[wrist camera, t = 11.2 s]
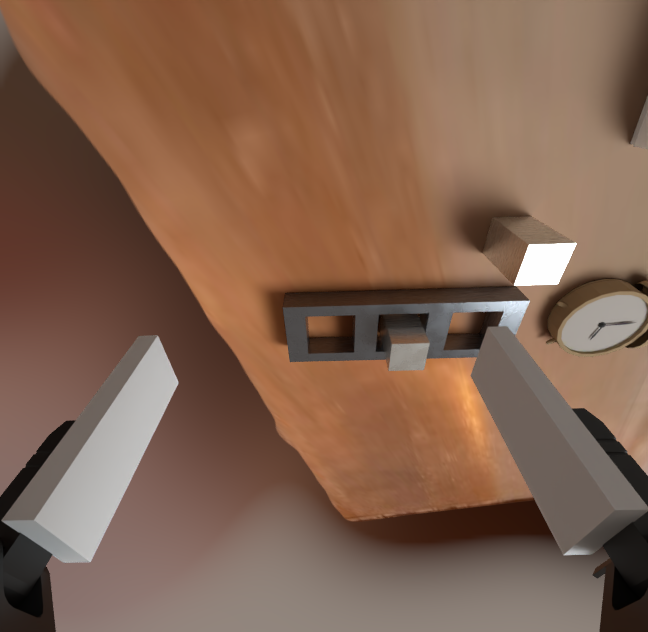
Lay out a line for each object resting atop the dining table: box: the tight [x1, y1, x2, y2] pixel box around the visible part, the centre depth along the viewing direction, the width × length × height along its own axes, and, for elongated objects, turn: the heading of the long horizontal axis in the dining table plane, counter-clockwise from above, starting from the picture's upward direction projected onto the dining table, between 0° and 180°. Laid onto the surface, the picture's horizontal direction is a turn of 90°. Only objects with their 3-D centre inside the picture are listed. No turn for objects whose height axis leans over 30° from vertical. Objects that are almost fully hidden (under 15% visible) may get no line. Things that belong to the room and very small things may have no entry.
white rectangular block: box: [483, 216, 577, 285], centre depth 35 cm, size 4×4×8 cm
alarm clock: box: [546, 279, 648, 357], centre depth 43 cm, size 11×5×15 cm
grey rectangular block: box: [379, 314, 430, 371], centre depth 42 cm, size 4×4×8 cm
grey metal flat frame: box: [283, 286, 530, 362], centre depth 44 cm, size 10×31×4 cm, turn 92°
